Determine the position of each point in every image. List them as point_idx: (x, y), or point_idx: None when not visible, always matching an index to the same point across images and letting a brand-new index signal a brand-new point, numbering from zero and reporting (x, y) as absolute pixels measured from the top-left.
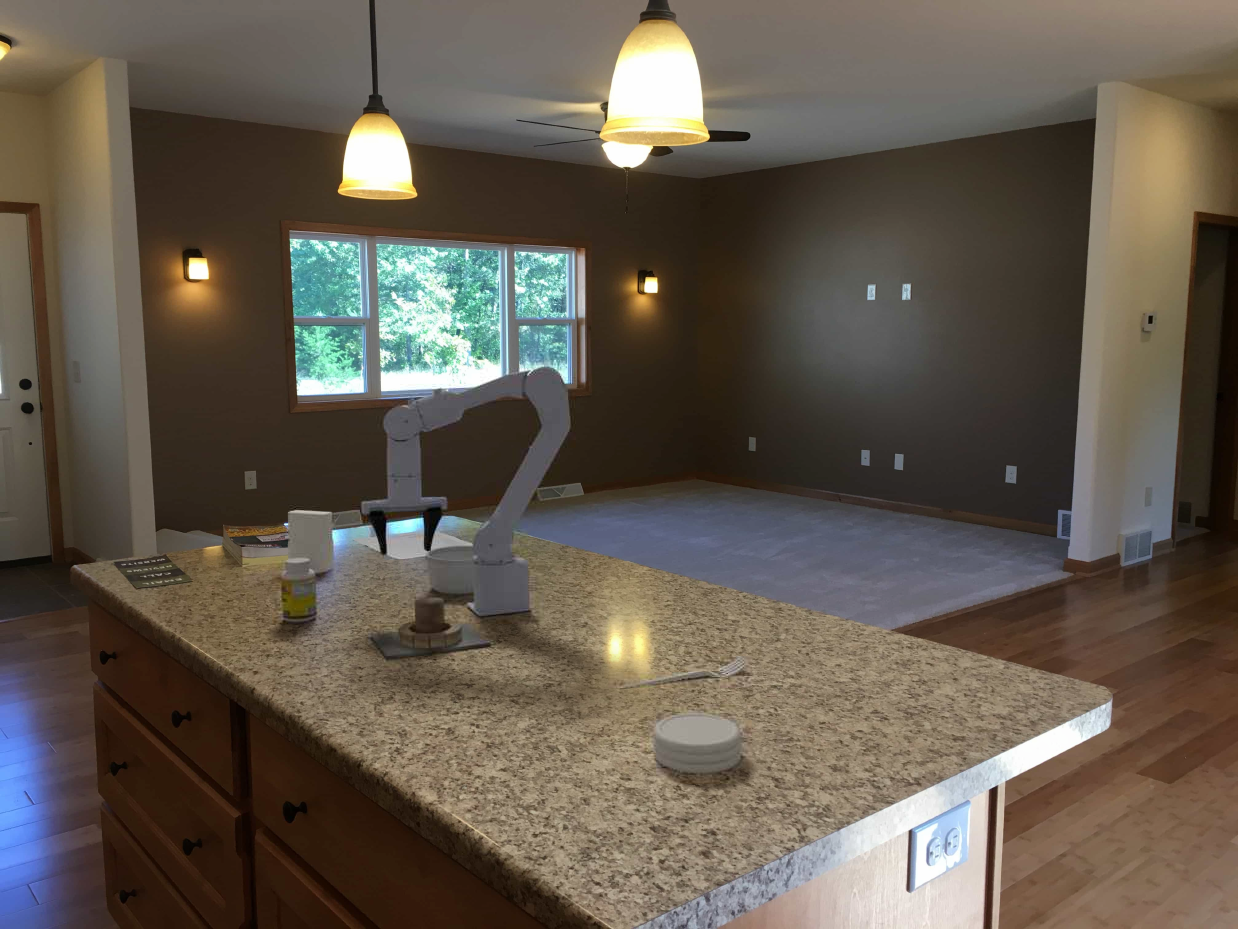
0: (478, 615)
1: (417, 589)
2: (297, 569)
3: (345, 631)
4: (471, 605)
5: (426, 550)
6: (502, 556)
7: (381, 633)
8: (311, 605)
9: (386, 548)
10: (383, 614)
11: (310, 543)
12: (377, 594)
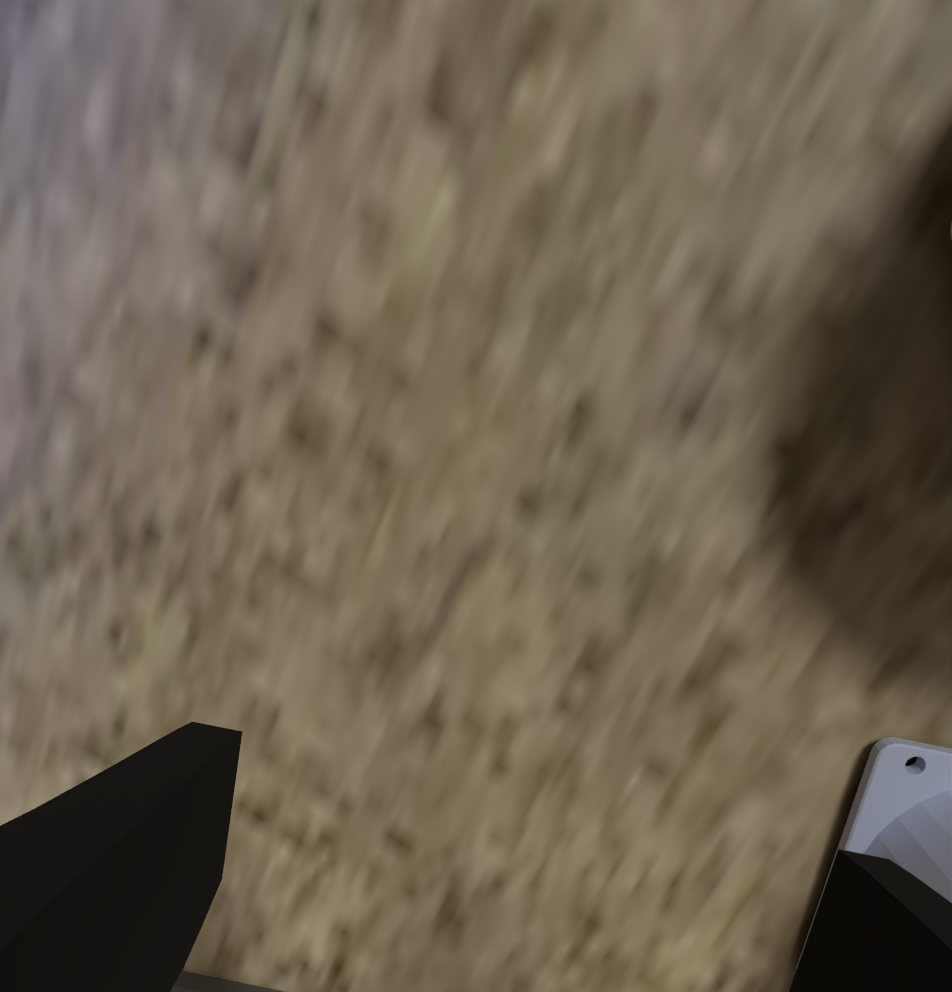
0: (796, 968)
1: (867, 42)
2: None
3: (39, 783)
4: (876, 810)
5: (799, 979)
6: None
7: (173, 989)
8: None
9: (169, 979)
10: (344, 587)
11: None
12: (519, 6)
